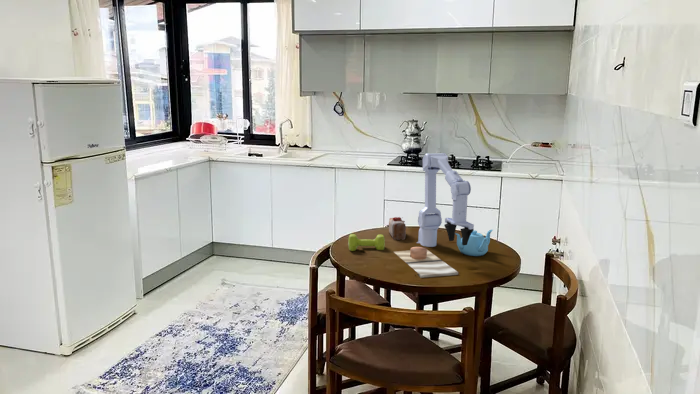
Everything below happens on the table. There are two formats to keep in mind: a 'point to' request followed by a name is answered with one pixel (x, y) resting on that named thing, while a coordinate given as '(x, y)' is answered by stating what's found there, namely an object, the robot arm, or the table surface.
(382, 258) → the table surface
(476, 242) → the teapot
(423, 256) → the puck
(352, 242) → the dumbbell
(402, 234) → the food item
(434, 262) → the board
